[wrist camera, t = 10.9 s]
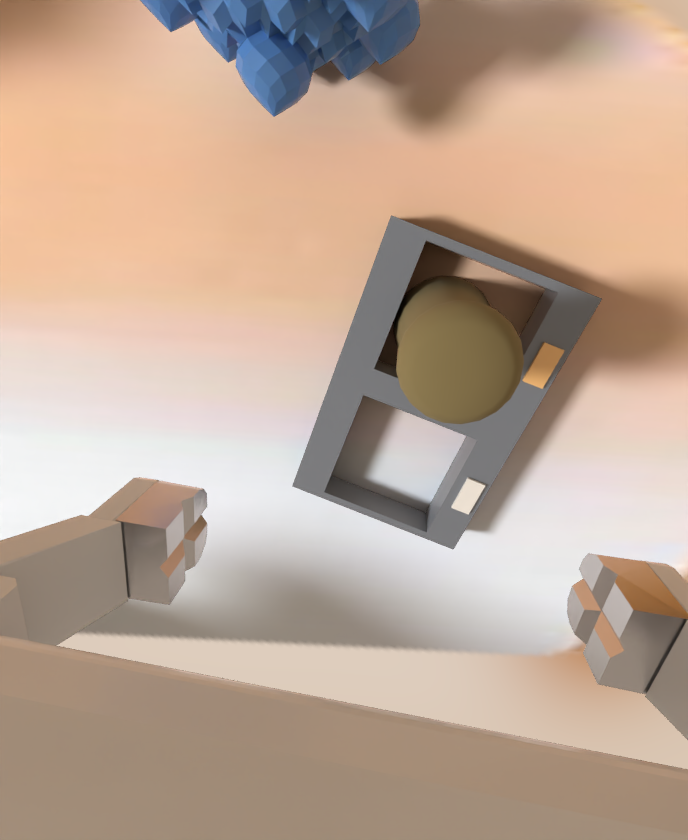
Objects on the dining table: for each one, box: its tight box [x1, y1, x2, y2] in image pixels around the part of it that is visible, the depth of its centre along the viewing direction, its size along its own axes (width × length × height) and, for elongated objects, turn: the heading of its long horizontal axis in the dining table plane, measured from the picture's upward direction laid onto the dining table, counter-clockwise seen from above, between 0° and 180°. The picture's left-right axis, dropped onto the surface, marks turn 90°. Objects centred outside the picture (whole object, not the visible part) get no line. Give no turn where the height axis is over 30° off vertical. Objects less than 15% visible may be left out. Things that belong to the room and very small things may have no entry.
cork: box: [394, 276, 524, 424], centre depth 22 cm, size 6×6×11 cm
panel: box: [293, 216, 602, 549], centre depth 27 cm, size 18×12×3 cm, turn 160°
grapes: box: [141, 0, 420, 116], centre depth 17 cm, size 12×7×12 cm, turn 85°
